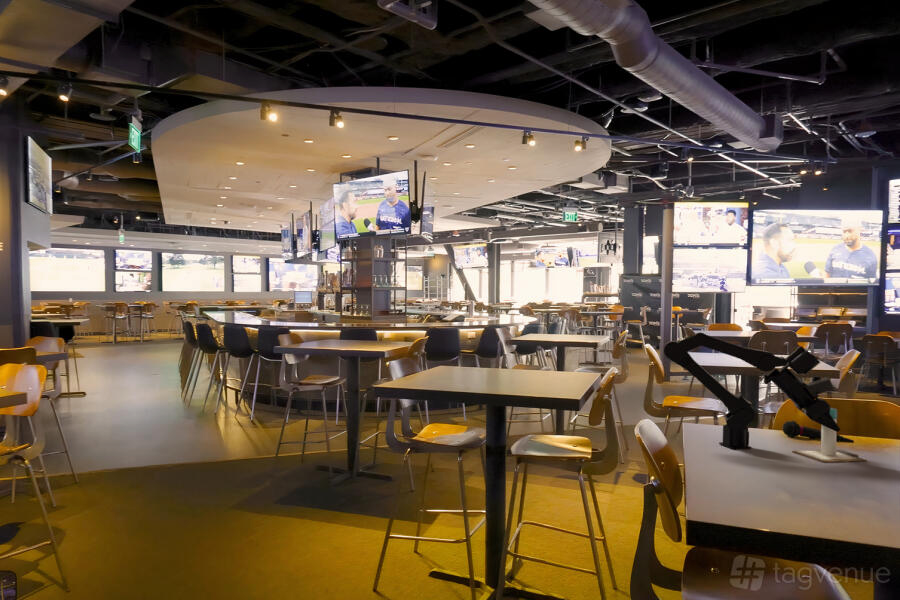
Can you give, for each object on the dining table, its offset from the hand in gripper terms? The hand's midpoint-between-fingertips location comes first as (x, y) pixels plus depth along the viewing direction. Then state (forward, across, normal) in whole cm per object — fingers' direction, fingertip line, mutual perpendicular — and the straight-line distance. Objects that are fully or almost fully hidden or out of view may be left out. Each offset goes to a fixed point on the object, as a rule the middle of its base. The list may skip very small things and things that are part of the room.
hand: (834, 427), depth 161 cm
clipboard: (+5, 0, +7) cm, 8 cm away
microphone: (+7, +25, +6) cm, 26 cm away
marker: (+4, 0, +6) cm, 8 cm away
